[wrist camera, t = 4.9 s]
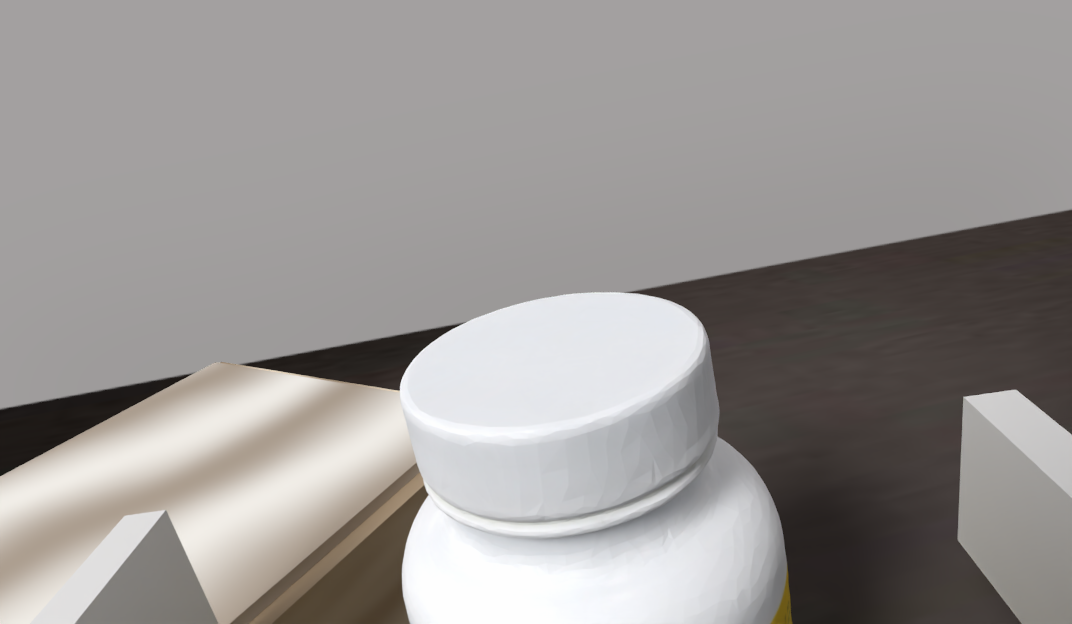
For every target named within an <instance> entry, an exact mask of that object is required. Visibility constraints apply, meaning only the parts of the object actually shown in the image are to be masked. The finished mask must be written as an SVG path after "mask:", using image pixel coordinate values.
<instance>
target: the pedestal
mask: <svg viewBox="0 0 1072 624" xmlns="http://www.w3.org/2000/svg"><path fill="white" fill-rule="evenodd" d="M428 495H429V494H428V493H427V491H426V488H425V485H424V481H423V477H422V476H421V473H420V471H419V468H418V466H417V462H416V458H415V455H414V451H413V447H412V444H411V440H410V436H409V432H408V428H407V424H406V420H405V416H404V413H403V409H402V406H401V401H400V391H396V390H390V389H384V388H378V387H372V386H365V385H359V384H353V383H347V382H341V381H335V380H329V379H322V378H316V377H310V376H304V375H298V374H292V373H286V372H279V371H273V370H267V369H261V368H255V367H249V366H243V365H236V364H230V363H224V362H221V363H216V362H215V363H213V364H211V365H210V366H207V367H206V368H204V369H202V370H200V371H198V372H196V373H194V374H192V375H191V376H189V377H187V378H185V379H183V380H181V381H179V382H177V383H175V384H174V385H172V386H170V387H168V388H166V389H164V390H162V391H160V392H159V393H157V394H155V395H153V396H151V397H149V398H147V399H145V400H143V401H142V402H140V403H138V404H136V405H134V406H132V407H130V408H128V409H127V410H125V411H123V412H121V413H119V414H117V415H115V416H113V417H111V418H110V419H108V420H106V421H104V422H102V423H100V424H98V425H96V426H95V427H93V428H91V429H89V430H87V431H85V432H83V433H81V434H79V435H78V436H76V437H74V438H72V439H70V440H68V441H66V442H64V443H63V444H61V445H59V446H57V447H55V448H53V449H51V450H49V451H48V452H46V453H44V454H42V455H40V456H38V457H36V458H34V459H32V460H31V461H29V462H27V463H25V464H23V465H21V466H19V467H17V468H16V469H14V470H12V471H10V472H8V473H6V474H4V475H2V476H0V624H30V623H31V622H32V621H33V619H34V618H35V617H36V616H37V615H38V614H39V613H40V612H41V610H42V609H43V608H44V607H45V606H46V605H47V604H48V602H49V601H50V600H51V599H52V598H53V597H54V596H55V594H56V593H57V592H58V591H59V590H60V589H61V588H62V586H63V585H64V584H65V583H66V582H67V581H68V580H69V578H70V577H71V576H72V575H73V574H74V573H75V572H76V570H77V569H78V568H79V567H80V566H81V565H82V564H83V562H84V561H85V560H86V559H87V558H88V557H89V556H90V555H91V553H92V552H93V551H94V550H95V549H96V548H97V547H98V545H99V544H100V543H101V542H102V541H103V540H104V539H105V537H106V536H107V535H108V534H109V533H110V532H111V531H112V529H113V528H114V527H115V526H116V525H117V524H118V523H119V521H120V520H121V519H122V518H123V517H124V516H126V515H133V514H140V513H147V512H154V511H161V510H166V511H167V513H168V515H169V517H170V520H171V522H172V524H173V526H174V528H175V530H176V533H177V535H178V537H179V539H180V541H181V543H182V546H183V548H184V550H185V552H186V554H187V556H188V559H189V561H190V563H191V565H192V567H193V570H194V572H195V574H196V576H197V578H198V580H199V583H200V585H201V587H202V589H203V591H204V593H205V596H206V598H207V600H208V602H209V604H210V606H211V609H212V611H213V613H214V615H215V617H216V619H217V622H218V624H410V622H409V618H408V614H407V610H406V606H405V602H404V598H403V590H402V564H403V558H404V552H405V547H406V542H407V539H408V535H409V532H410V530H411V527H412V524H413V522H414V519H415V517H416V515H417V513H418V511H419V510H420V508H421V506H422V504H423V503H424V501H425V500H426V498H427V497H428Z"/></svg>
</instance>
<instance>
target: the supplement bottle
mask: <svg viewBox="0 0 1072 624" xmlns="http://www.w3.org/2000/svg"><path fill="white" fill-rule="evenodd" d="M400 401H401V406H402V409H403V413H404V416H405V420H406V424H407V428H408V432H409V436H410V440H411V444H412V447H413V451H414V455H415V458H416V462H417V466H418V468H419V471H420V473H421V476H422V477H423V481H424V485H425V488H426V491H427V493H428V494H429V495H428V497H427V498H426V500H425V501H424V503H423V504H422V506H421V508H420V510H419V511H418V513H417V515H416V517H415V519H414V522H413V524H412V527H411V530H410V532H409V535H408V539H407V542H406V547H405V552H404V558H403V564H402V590H403V598H404V602H405V606H406V610H407V614H408V618H409V622H410V624H792V618H791V602H790V591H789V582H788V569H787V560H786V553H785V545H784V537H783V531H782V526H781V522H780V518H779V515H778V512H777V509H776V507H775V504H774V502H773V499H772V497H771V495H770V493H769V491H768V489H767V487H766V485H765V483H764V482H763V480H762V479H761V477H760V476H759V474H758V473H757V471H756V470H755V469H754V467H753V466H752V465H751V464H750V463H749V462H748V461H747V460H746V459H745V458H744V457H743V456H742V455H741V454H740V453H739V452H738V451H737V450H735V449H734V448H733V447H732V446H731V445H729V444H728V443H727V442H725V441H724V440H722V439H721V438H719V437H717V433H718V421H719V403H718V398H717V394H716V387H715V380H714V373H713V367H712V360H711V353H710V346H709V339H708V336H707V333H706V331H705V329H704V327H703V325H702V323H701V322H700V321H699V319H698V318H697V317H696V316H695V315H694V314H693V313H691V312H690V311H689V310H687V309H686V308H684V307H682V306H680V305H678V304H676V303H674V302H671V301H668V300H665V299H661V298H657V297H652V296H646V295H641V294H631V293H618V292H596V293H595V292H593V293H575V294H568V295H561V296H555V297H548V298H543V299H537V300H533V301H529V302H525V303H521V304H516V305H513V306H509V307H506V308H503V309H500V310H497V311H494V312H491V313H488V314H486V315H483V316H481V317H478V318H475V319H473V320H471V321H468V322H466V323H464V324H462V325H460V326H458V327H456V328H454V329H452V330H451V331H449V332H447V333H446V334H444V335H442V336H441V337H439V338H438V339H436V340H435V341H434V342H432V343H431V344H430V345H428V346H427V347H426V348H425V349H423V350H422V351H421V352H420V353H419V354H418V355H417V356H416V357H415V358H414V360H413V361H412V362H411V364H410V365H409V367H408V368H407V370H406V372H405V374H404V376H403V378H402V381H401V385H400Z"/></svg>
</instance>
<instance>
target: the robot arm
mask: <svg viewBox="0 0 1072 624" xmlns="http://www.w3.org/2000/svg"><path fill="white" fill-rule="evenodd" d="M958 541H959V542H960V544H961V545H962V546H963V548H964V549H965V550H966V551H967V553H968V554H969V555H970V557H971V558H972V559H973V561H974V562H975V563H976V565H977V566H978V567H979V568H980V570H981V571H982V572H983V574H984V575H985V576H986V578H987V579H988V580H989V582H990V583H991V584H992V585H993V587H994V588H995V589H996V591H997V592H998V593H999V595H1000V596H1001V597H1002V598H1003V600H1004V601H1005V602H1006V604H1007V605H1008V606H1009V608H1010V609H1011V610H1012V612H1013V613H1014V614H1015V615H1016V617H1017V618H1018V619H1019V621H1020V622H1021V623H1022V624H1072V435H1071V434H1070V433H1069V432H1068V431H1066V430H1065V429H1064V428H1063V427H1061V426H1060V425H1059V424H1058V423H1056V422H1055V421H1054V420H1053V419H1051V418H1050V417H1049V416H1048V415H1047V414H1045V413H1044V412H1043V411H1042V410H1040V409H1039V408H1038V407H1037V406H1035V405H1034V404H1033V403H1032V402H1030V401H1029V400H1028V399H1027V398H1026V397H1024V396H1023V395H1022V394H1021V393H1019V392H1018V391H1017V390H1010V391H1003V392H995V393H988V394H981V395H974V396H967V397H963V421H962V446H961V470H960V494H959V519H958ZM30 624H218V622H217V619H216V617H215V615H214V613H213V611H212V609H211V606H210V604H209V602H208V600H207V598H206V596H205V593H204V591H203V589H202V587H201V585H200V583H199V580H198V578H197V576H196V574H195V572H194V570H193V567H192V565H191V563H190V561H189V559H188V556H187V554H186V552H185V550H184V548H183V546H182V543H181V541H180V539H179V537H178V535H177V533H176V530H175V528H174V526H173V524H172V522H171V520H170V517H169V515H168V513H167V511H166V510H161V511H154V512H147V513H140V514H133V515H126V516H124V517H123V518H122V519H121V520H120V521H119V523H118V524H117V525H116V526H115V527H114V528H113V529H112V531H111V532H110V533H109V534H108V535H107V536H106V537H105V539H104V540H103V541H102V542H101V543H100V544H99V545H98V547H97V548H96V549H95V550H94V551H93V552H92V553H91V555H90V556H89V557H88V558H87V559H86V560H85V561H84V562H83V564H82V565H81V566H80V567H79V568H78V569H77V570H76V572H75V573H74V574H73V575H72V576H71V577H70V578H69V580H68V581H67V582H66V583H65V584H64V585H63V586H62V588H61V589H60V590H59V591H58V592H57V593H56V594H55V596H54V597H53V598H52V599H51V600H50V601H49V602H48V604H47V605H46V606H45V607H44V608H43V609H42V610H41V612H40V613H39V614H38V615H37V616H36V617H35V618H34V619H33V621H32V622H31V623H30Z"/></svg>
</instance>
